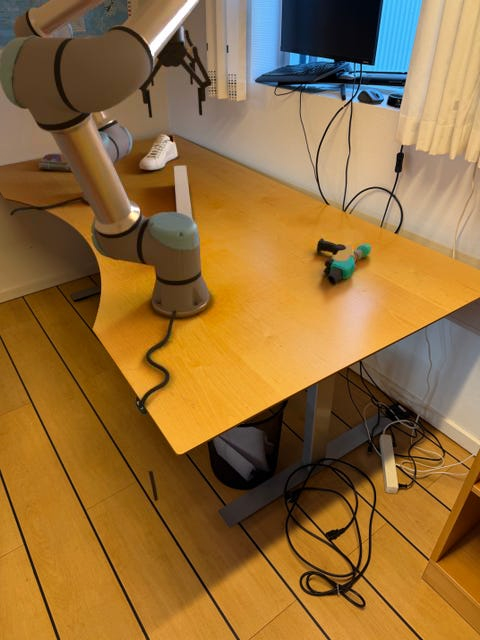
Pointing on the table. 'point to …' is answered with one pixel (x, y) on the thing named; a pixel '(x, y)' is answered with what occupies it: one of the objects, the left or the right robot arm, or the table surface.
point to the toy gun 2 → (341, 259)
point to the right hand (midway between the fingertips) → (175, 115)
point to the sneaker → (160, 153)
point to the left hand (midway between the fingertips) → (172, 84)
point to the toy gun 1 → (53, 163)
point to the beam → (182, 191)
